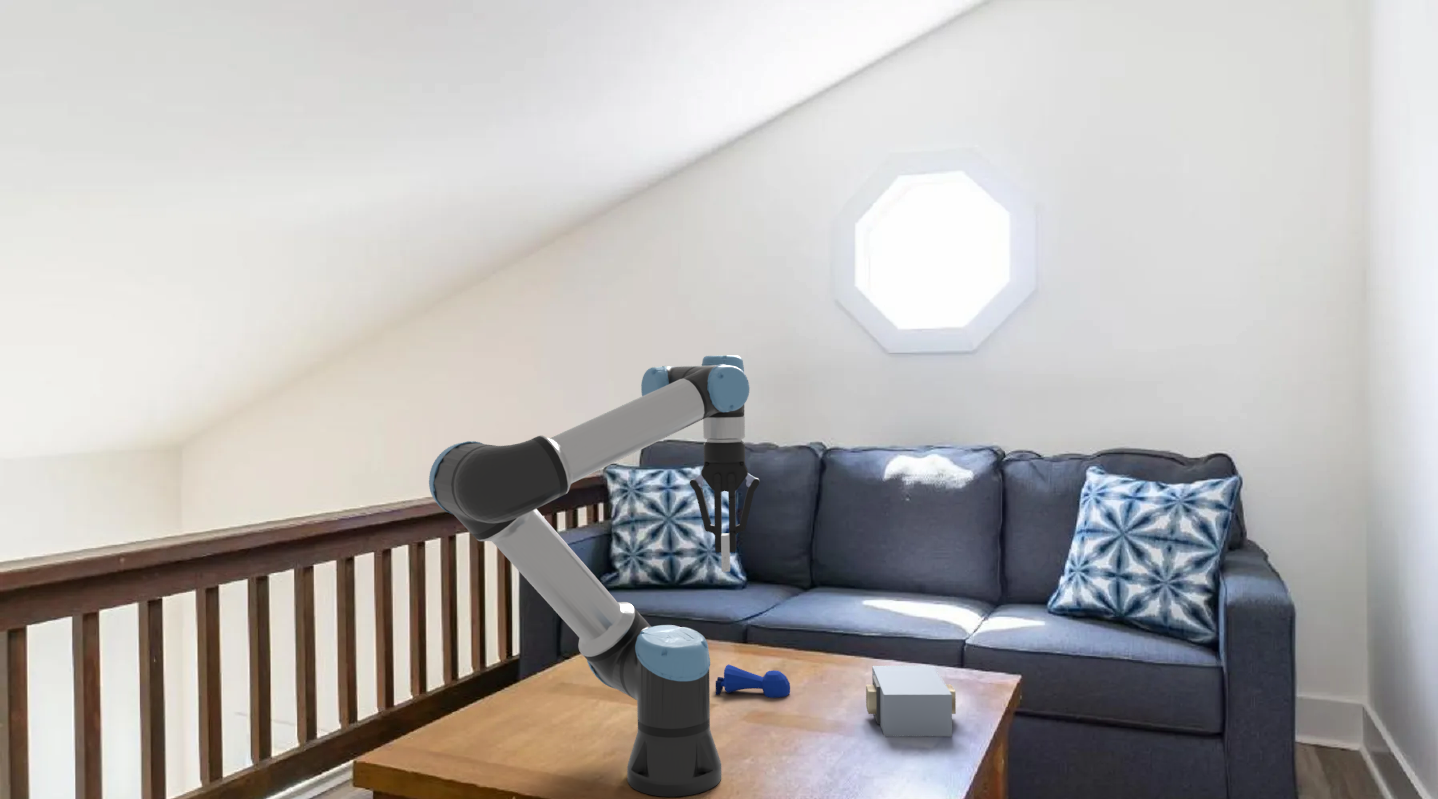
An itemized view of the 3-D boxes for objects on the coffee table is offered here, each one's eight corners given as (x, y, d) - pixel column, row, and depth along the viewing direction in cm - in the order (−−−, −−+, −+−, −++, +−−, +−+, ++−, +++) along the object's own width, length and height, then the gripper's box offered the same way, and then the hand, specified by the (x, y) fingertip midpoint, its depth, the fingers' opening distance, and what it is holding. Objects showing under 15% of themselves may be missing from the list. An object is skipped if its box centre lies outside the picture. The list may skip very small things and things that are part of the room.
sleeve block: (952, 736, 180) (951, 694, 180) (880, 736, 180) (880, 694, 180) (934, 703, 198) (933, 665, 198) (869, 703, 198) (869, 665, 198)
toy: (715, 700, 204) (789, 700, 202) (713, 669, 204) (787, 669, 202) (720, 690, 211) (791, 689, 209) (718, 660, 211) (790, 659, 209)
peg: (955, 714, 187) (955, 691, 187) (868, 714, 187) (868, 691, 187) (951, 706, 191) (951, 684, 191) (866, 706, 192) (865, 684, 191)
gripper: (760, 438, 187) (761, 566, 187) (689, 439, 187) (691, 566, 188) (760, 441, 179) (761, 573, 180) (686, 442, 180) (688, 574, 180)
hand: (725, 570), depth 184 cm, fingers closed
